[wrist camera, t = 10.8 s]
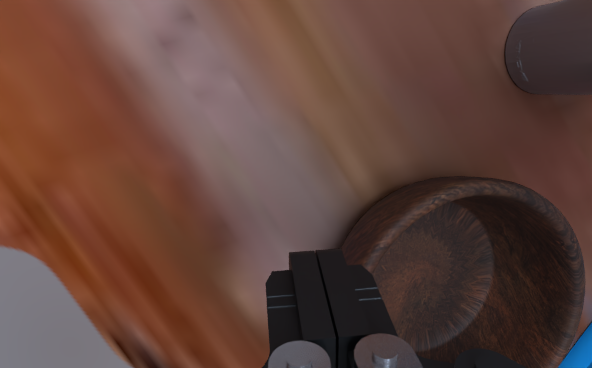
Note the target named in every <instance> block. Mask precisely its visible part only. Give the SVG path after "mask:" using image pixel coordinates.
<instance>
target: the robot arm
mask: <svg viewBox="0 0 592 368" xmlns="http://www.w3.org/2000/svg"><path fill="white" fill-rule="evenodd" d="M505 57H506V65H507V69H508V72H509V74H510V76H511V78H512V80H513V81H514V82H515V83H516V85H517V86H518V87H520V88H521V89H522V90H524V91H526V92H529V93H533V94H564V95H592V0H563V1H559V2H555V3H550V4H546V5H541V6H538V7H535V8H532V9H530V10H528V11H527V12H525V13H524V14H523V15H522V16H521V17H520V18H519V19H518V20H517V21H516V23H515V24H514V25H513V27H512V29H511V31H510V33H509V36H508V39H507V43H506V51H505ZM266 297H267V313H268V329H269V344H270V354H269V358H268V360H267V362H266V363H265V365H264V366H263V367H262V368H526V367H524V366H522V365H520V364H519V363H517V362H515V361H513V360H511V359H509V358H507V357H506V356H504V355H502V354H500V353H497V352H495V351H492V350H488V349H481V348H479V349H469V350H466V351H464V352H462V353H461V354H459V355H458V357H457V358H456V360H455V363H449V362H443V361H437V360H431V359H427V358H424V357H421V356H419V355H417V354H415V352H414V350H413V349H412V347H411V346H410V345H409V344H408V343H407V342H406V341H404V340H403V339H401V338H399V337H398V335H397V332H396V330H395V328H394V325H393V323H392V320H391V318H390V316H389V313H388V311H387V308H386V306H385V304H384V301H383V300H382V296H381V294H380V292H379V289H378V287H377V284H376V282H375V280H374V277H373V275H372V274H371V273H370V272H369V271H368V270H367V269H365V268H364V267H363V266H362V265H361V264H360V265H347V264H346V261H345V258H344V255H343V252H342V250H341V249H328V250H316V251H315V252H314V251H303V252H289V270H284V271H272V273H271V275H270V276H269V278H268V280H267V282H266Z"/></svg>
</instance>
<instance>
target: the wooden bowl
mask: <svg viewBox="0 0 592 368" xmlns="http://www.w3.org/2000/svg"><path fill="white" fill-rule="evenodd" d="M341 250H342V252H343V255H344V258H345V261H346V264H347V265H360V264H361V265H362V266H363V267H364V268H365V269H367V270H368V271H369V272H370V273H371V274H372V275H373V277H374V280H375V282H376V284H377V287H378V289H379V292H380V294H381V296H382V300H383V301H384V304H385V306H386V308H387V311H388V313H389V316H390V318H391V320H392V323H393V325H394V328H395V330H396V332H397V335H398V337H399V338H401V339H403V340H404V341H406V342H407V343H408V344H409V345H410V346H411V347H412V349H413V350H414V352H415V354H417V355H419V356H421V357H424V358H427V359H431V360H437V361H443V362H449V363H455V360H456V358H457V357H458V355H459V354H461V353H462V352H464V351H466V350H469V349H479V348H481V349H488V350H492V351H495V352H497V353H500V354H502V355H504V356H506V357H507V358H509V359H511V360H513V361H515V362H517V363H519V364H520V365H522V366H524V367H526V368H558V367H559V365H560V364H561V362H562V361H563V359H564V357H565V355H566V353H567V352H568V350H569V348H570V345H571V343H572V341H573V339H574V336H575V333H576V331H577V328H578V325H579V321H580V318H581V314H582V309H583V303H584V296H585V270H584V262H583V257H582V253H581V249H580V246H579V243H578V240H577V238H576V236H575V234H574V231H573V229H572V228H571V226H570V224H569V223H568V221H567V220H566V218H565V217H564V216H563V215H562V213H561V212H560V211H559V210H558V209H557V208H556V207H555V206H554V205H553V204H552V203H551V202H549V201H548V200H547V199H546V198H544V197H543V196H541V195H540V194H538V193H536V192H535V191H533V190H531V189H529V188H527V187H525V186H523V185H520V184H517V183H513V182H510V181H505V180H499V179H493V178H481V177H465V176H455V177H440V178H434V179H428V180H424V181H420V182H417V183H413V184H411V185H408V186H405V187H403V188H401V189H399V190H397V191H395V192H393V193H391V194H390V195H388V196H386V197H385V198H383V199H382V200H381V201H379V202H378V203H377V204H375V205H374V206H373V207H372V208H371V209H369V210H368V211H367V212H366V213H365V214H364V215H363V216H362V217H361V219H360V220H359V221H358V222H357V223H356V225H355V226H354V227H353V229H352V230H351V232H350V233H349V235H348V236H347V238H346V240H345V242H344V244H343V246H342V248H341Z"/></svg>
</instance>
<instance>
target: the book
mask: <svg viewBox="0 0 592 368" xmlns="http://www.w3.org/2000/svg"><path fill="white" fill-rule="evenodd" d="M558 368H592V323H591V324H590V325H589V326H588V328H587V329H586V330H585V332H584V333H583V334H582V336H581V337H580V338H579V340H578V341H577V342H576V344H575V345H574V346H573V348H572V349H571V350H570V352H569V353H568V354H567V356H566V357H565V358H564V360H563V361H562V362H561V364H560V365H559V367H558Z"/></svg>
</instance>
